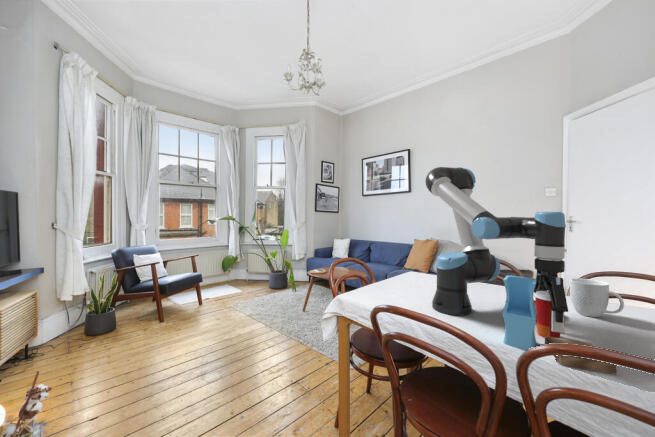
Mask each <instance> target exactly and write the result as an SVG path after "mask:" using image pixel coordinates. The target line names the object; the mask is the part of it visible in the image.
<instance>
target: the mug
mask: <svg viewBox="0 0 655 437" xmlns="http://www.w3.org/2000/svg"><path fill="white" fill-rule="evenodd" d="M569 295H570V301H571V303H572V307H573V308H574V310H575V312H577V313H578V314H579V315H582V316H586V317H589V318H590V317H591V318H600V317H602V316H603V315H604V314H609V315H610V314H613V315H614V314H618V313H620V312H622V311H623V310H624V308H625V301H624V299H623V298H622V296H621V295H619V294H618V293H616V292H613V291H610V284H609V283H608V282H605V281H601V280H595V279H590V278H576V277H574V278H573V277H572V278H570V279H569ZM610 295H613V296H615V297H616V298H617V299H618V301H619V307H618V309H616V310H607V309H608V305H609V301H610V300H609V299H610Z"/></svg>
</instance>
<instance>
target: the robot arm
mask: <svg viewBox="0 0 655 437" xmlns="http://www.w3.org/2000/svg"><path fill="white" fill-rule="evenodd" d="M424 182H425V186H426V188H427V190H428V191H429V192H430V193H431V194H432V195H433V196H435V197H439V198H440V199H441V200H442V201H443V202H444V203H446V204H447V205H448V206H449V207H450V208H451V209H452V212H453V216H454V220H455V224H456V228H457V233H458V236H459V237H458V238H459V240H460V245H461V248H462V249H461V251H459V252H458V251H457V252H456V251H455V252H454V251H453V252H452V251H451V252H445V253H441V254H439V255H438V256H437V258H436V266H435V267H436V291H435V292H434V295H433V298H432V302H431V304H432V306H431V307H432V309H434V310H436V311H438V312H439V313H442V314H446V315H449V316H450V315H451V316H452V315H453V316H467V315H470V314H472V313H473V306H472V303H471V299H470V297H469V294H468V284H473V283H475V284H476V283H487V282H492V281H494V280H496V279H497V278H498V276H499V274H500V272H501V263H500V261H499V258H497V257H496V256H495V255H493V254H491V251H490V248H489V247H486V246H485V245H484V242H483V240H499V239H501V240H502V239H528V240H530V239H531V240H534V255H533V256H534V257H535V258H534V270H536V277H535V279H536V284H535V288H534V293H533V294H535V293H536V292H537V291H549V295H550V298H551V302H552V306H553V308H551V311H552V332H560V333H561V334H565V333H564V332H565V313H568V312H569V307H568V301H567V297H566V292H565V287H564V278H563V277H559V276H558V274H559V273H560V274H561V273H565V271H566V265H565V264H566V262H565V260H564V259H565V253H567V248H566V245H565V243H566V242H565V239H566V238H565V237H566V226H567V225H566V216H565V213H564V212H562V211H536V212H535V214H534V216H533V217H524V216H523V217H521V216H510V217H509V216H507V217H498V216H496V215H494V214H493V213H491V211H488V210H487V209H486V208H484V207H483V206H482V205H481V204H479V203H478V201H475V200H474V199H473V198H472V197H471V195H472V194H473V189H474V188H475V184H476V177H475V174H474V173H473V171H472V170H470V169H468V168H466V167H465V168H464V167H450V166H449V167H445V166H439V167H438V166H437V167H435V168H433V169H431V170H430V171H429V172H428V173H427V175H426V177H425V181H424Z"/></svg>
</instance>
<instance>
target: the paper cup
mask: <svg viewBox="0 0 655 437" xmlns="http://www.w3.org/2000/svg"><path fill="white" fill-rule="evenodd" d="M533 298H535V301H536V310H537V315H536V316H537V318H536V328H537V329H536V330H537V335H538V336H540V337H541V338H543V339H545V338H547V337H554V338H561V335H562V333H560V332H552V311H551V308H553V306H552V302H551V298H550V295H549V291H548V290H547V291H537V292H536V293H534V294H533Z"/></svg>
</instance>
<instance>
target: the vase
mask: <svg viewBox="0 0 655 437" xmlns="http://www.w3.org/2000/svg"><path fill="white" fill-rule="evenodd" d="M502 281H503V284H504V288H505V293H506V295H505V296H506V297H505V298H506V299H505V301H506V302H505V303H504V307H503V311H502V317H503V320H504V326H505V328H504V329H505V331H504V338H503V341H502V342H503V344H504V345H507V346H510V347H512V348H513V347H514V348H517V349H522V350H525V351H528V349H529V348H531V347H535V346H537V338H536V334H535V323H536V321H537V318H536V315H537V310H536V307H535V304H534V294H535V293H534V288H535V284H536V278H533V277H525V276H519V275H518V276H517V275H508V274H507V275H505V277H504V278H503V280H502Z"/></svg>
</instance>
